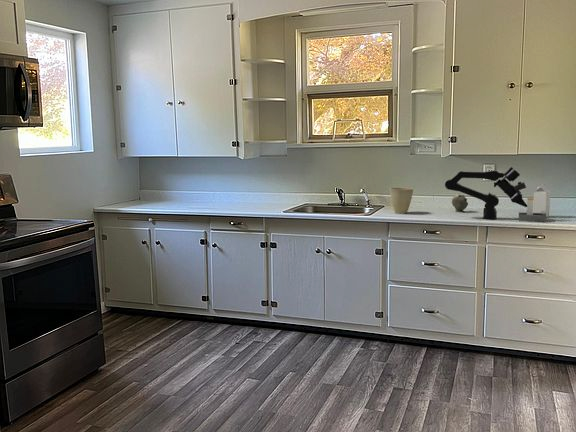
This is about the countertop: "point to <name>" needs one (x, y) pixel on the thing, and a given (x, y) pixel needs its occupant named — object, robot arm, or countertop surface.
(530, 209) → the switch lever
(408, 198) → the plant pot
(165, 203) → the countertop surface
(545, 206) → the milk carton
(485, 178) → the robot arm
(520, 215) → the switch housing
